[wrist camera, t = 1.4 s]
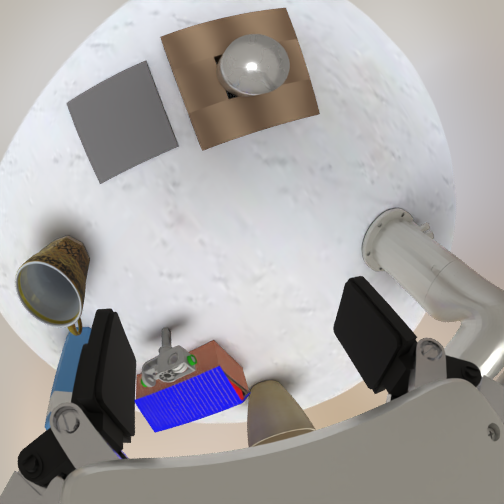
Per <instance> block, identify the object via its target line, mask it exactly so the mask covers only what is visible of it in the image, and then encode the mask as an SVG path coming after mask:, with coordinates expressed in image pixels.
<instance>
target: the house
mask: <svg viewBox="0 0 504 504" xmlns="http://www.w3.org/2000/svg"><path fill="white" fill-rule="evenodd" d="M189 353H190V354H193V355H194V356H195V357H196V359H197V364H195V369H196V371H194V372H192V373H189V374H187V375H185V376H183V377H181V378H179V379H177V380H175V381H174V382H163V381H161V380H160V379H157V380H156V385H155V386H153V387H144V386H143V385H142V384H141V379H142V373H141V374H139V375H137V384H136V400H135V403H136V405H137V406H138V408H139V410H140V411H141V413H142V414H143V416H144V417H145V419H146V420H147V421H148V423H149V425H150V426H151V428H152V429H153V430H154V432H159V431H162V430H166V429H169V428H173V427H176V426H179V425H183V424H186V423H189V422H192V421H195V420H198V419H201V418H204V417H207V416H210V415H213V414H215V413H218V412H221V411H223V410H226V409H229V408H231V407H234V406H236V405H239V404H241V403H243V402H244V401H245V400H246V398H247V397H248V396H249V394H250V393H251V392H250V393H248V392H249V390H248V386H247V383H246V379H245V376H244V372H243V368H242V367H241V366H240V365H239V364H238V363H237V362H236V361H235V360H234V359H233V358H232V357H231V356H230V355H228V354H227V353H226V352H225V351H224V350H223V349H222V348H221V347H220V346H219V345H218V344H217V343H216V342H215V341H214V340H213V341H211V342H209V343H207V344H205V345H203V346H201V347H198V348H196V349H194V350H192V351H190V352H189ZM187 369H188V367H187ZM187 369H186V370H187ZM186 370H185V371H186ZM185 371H184V372H185ZM182 373H183V372H182ZM244 394H245V395H244Z"/></svg>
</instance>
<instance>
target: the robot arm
mask: <svg viewBox="0 0 504 504" xmlns="http://www.w3.org/2000/svg"><path fill="white" fill-rule="evenodd" d="M429 228H430V226H429V224H428V223H424V224H422V225H421V226H418V225H417V224H415V223H414V220H413V218H412V216H411V215H410V214H409V213H408V212H406V211H405V210H402V209H398V208H395V209H390V210H388V211H386V212H384V213H383V214H381V215H380V216H379V217H378V218H377V219H376V220H375V221H374V222H373V223H372V225H371V226H370V228H369V229H368V231H367V233H366V236H365V238H364V242H363V247H362V254H363V259H364V261H365V263H366V264H367V265H368V266H369V267H370V268H371V269H372V270H375V271H386V272H387V273H388V274H389V275H390V276H391V277H392V278H393V279H394V280H396V281H397V282H398V283H399V284H400V285H401V286H402V287H403V288H404V289H405V290H406V291H407V292H408V293H409V294H410V295H411V296H412V297H413V298H414V299H415V300H416V301H417V302H418V303H419V304H420V306H421V307H422V308H423V309H424V310H425V311H426V312H427V313H428V314H429V315H430V316H431V317H433V318H434V319H436V320H438V321H442V322H454V321H460V322H461V326H460V328H459V329H458V331H457V332H456V334H455V335H454V337H453V338H452V339H451V340H450V342H449V343H448V344H447V346H446V347H445V348H443V346H442V345H441V344H440V343H439V342H438V341H436V340H434V339H432V338H423V339H421V340H420V341H419V342H418V343H417V341H416V338H417V337H416V335H415V334H414V333H413V332H412V330H411V329H410V328H409V327H408V326H407V325H406V323H405V322H404V321H403V320H402V319H401V318H400V317H399V315H398V314H397V313H396V312H395V311H394V310H393V309H392V308H391V306H390V305H389V304H388V303H387V302H386V301H385V300H384V299H383V298H382V296H381V295H380V294H379V293H378V292H377V291H376V290H375V289H374V288H373V287H372V286H371V285H370V283H369V282H368V281H367V280H366V279H365V278H364V277H363V276H359V277H353V278H350V279H349V280H348V282H346V283H345V286H344V290H343V294H342V298H341V302H340V306H339V309H338V313H337V316H336V320H335V323H334V333H335V335H336V337H337V338H338V340H339V341H340V343H341V345H342V346H343V348H344V349H345V351H346V353H347V354H348V356H349V357H350V359H351V361H352V362H353V364H354V365H355V367H356V369H357V370H358V372H359V373H360V375H361V377H362V378H363V380H364V382H365V383H366V385H367V386H368V388H370V389H372V390H373V392H374V393H375V394H377V393H379V392H381V391H383V390H385V389H386V390H387V391H388V395H387V401H386V403H385V404H383V405H381V406H379V407H376V408H374V409H372V410H369V411H367V412H365V413H362V414H360V415H358V416H355V417H353V418H350V419H347V420H345V421H342V422H339V423H336V424H334V425H331V426H328V427H325V428H322V429H319V430H316V431H312V432H309V433H306V434H303V435H299V436H296V437H292V438H288V439H284V440H280V441H276V442H272V443H268V444H263V445H259V446H254V447H249V448H244V449H238V450H232V451H226V452H219V453H211V454H203V455H192V456H181V457H166V458H139V459H129V458H128V457H127V456H126V455H125V454H124V452H123V451H122V449H123V443H131V436H134V435H135V378H136V359H135V356H134V353H133V351H132V349H131V346H130V344H129V342H128V339H127V337H126V334H125V332H124V329H123V327H122V324H121V321H120V319H119V316H118V314H117V312H113V310H112V309H98V310H97V311H96V314H95V318H94V321H93V325H92V329H91V332H90V336H89V340H88V343H85V344H84V345H83V347H82V350H81V354H80V358H79V363H78V367H77V372H76V376H75V381H74V386H73V392H72V398H71V403H69V402H66V403H61V404H59V405H57V406H56V407H55V408H54V409H53V411H52V412H51V415H50V419H49V421H50V428H49V429H48V430H47V431H45V432H44V433H43V434H42V435H40V436H39V437H38V438H37V439H36V440H34V441H33V442H32V443H30V444H29V445H28V446H27V447H26V448H24V449H23V450H22V451H21V452H20V454H19V456H18V468H19V471H18V472H16V471H14V473H13V475H12V476H11V478H10V480H9V482H8V484H7V485H6V487H5V489H4V491H3V493H2V495H1V496H0V504H504V372H503V373H502V374H501V375H500V376H499V378H498V379H497V380H496V381H494V380H492V379H493V378H494V377H495V376H496V375H497V374H498V373H499V371H501V369H502V368H503V367H504V290H502V289H500V288H499V287H497V286H495V285H494V284H492V283H491V282H489V281H488V280H486V279H485V278H483V277H482V276H481V275H480V274H478V273H477V272H476V271H474V270H473V269H472V268H470V267H469V266H468V265H466V264H465V263H464V262H463V261H461V260H460V259H459V258H457V257H456V256H455V255H453V254H452V253H451V252H449V251H448V250H447V249H445V248H444V247H443V246H441V245H440V244H439V243H437V242H436V241H434V240H433V238H434V235H433V233H432V231H430V230H429V231H427V232H425V233H423V232H424V231H426V230H428V229H429Z"/></svg>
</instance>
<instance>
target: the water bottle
mask: <svg viewBox="0 0 504 504" xmlns="http://www.w3.org/2000/svg"><path fill="white" fill-rule="evenodd" d="M76 329H77V331H78V330H79V327H76ZM90 332H91V328H89V327H82V333H81V334H80V335H78V336H75V335H73V334H72V333H71V332H69V334H68V336H67V338H66V341H65V344H64V347H63V350H62V354H61V357H60V360H59V364H58V368H57V371H56V375H55V379H54V384H53V387H52V392H51V396H50V401H49V406H48V411H47V416H46V422H45V428H46V430H48V429H49V428H50V421H49V419H50V415H51V412H52V411H53V409H54V408H55V407H56V406H57V405H59V404H61V403H66V402H69V403H71V398H72V392H73V386H74V381H75V376H76V372H77V367H78V363H79V358H80V354H81V350H82V347H83V345H84V344H85V343H88V340H89V336H90Z"/></svg>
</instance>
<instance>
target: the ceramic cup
mask: <svg viewBox="0 0 504 504" xmlns="http://www.w3.org/2000/svg"><path fill="white" fill-rule="evenodd" d="M89 262H90V258H89V256H88V254H87V252H86V249H85V247H84V245H83V243H82V242H80V241H78V240H76V239H74V238H72V237H70V236H68V235H67V236H64V237H62V238H59V239H56V240H54V241H53V242H52V243H50V244H49V245H48V246H46V247H45V248H44V249H42V250H41V251H40V252H39V253H37V254H35V255H33V256H32V257H31V258H29V259H28V260H27V261H26V262H25V263H24V264H23V265H22V266H21V267H20V268H19V269H18V271H17V274H16V278H15V287H16V292H17V295H18V297H19V299H20V301H21V303H22V305H23V306H24V307H25V309H26V310H27V311H28V312H29V313H30V314H31V315H32V316H33V317H34V318H36V319H37V320H39V321H40V322H42V323H44V324H47V325H49V326H53V327H60V328H62V327H68V329H69V331H70V332H71V333H72V334H73V335H75V336H78V335H80V334H81V333H82V322H81V318H80V316H81V314H82V310H83V304H84V297H85V288H86V278H87V272H88V267H89ZM77 321H78V327H79V330H78V331H77V329H76V327H75V323H76V322H77Z"/></svg>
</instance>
